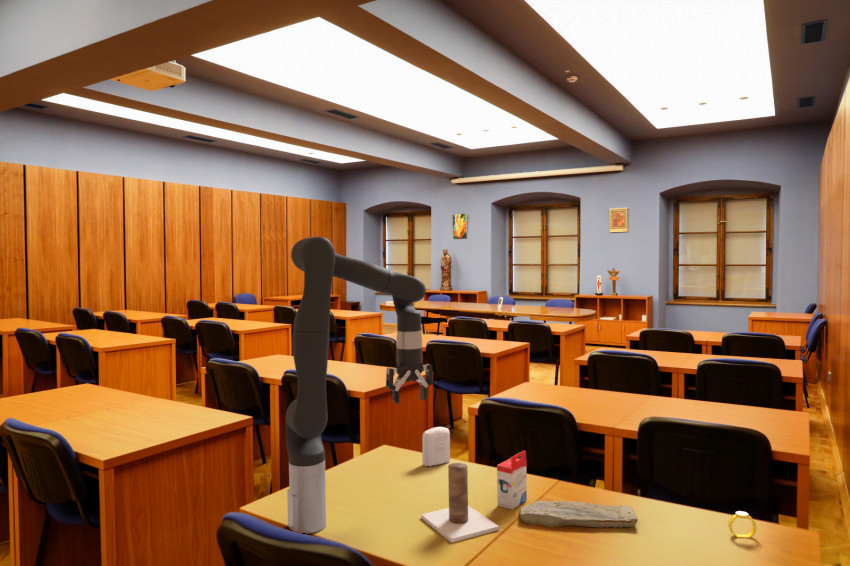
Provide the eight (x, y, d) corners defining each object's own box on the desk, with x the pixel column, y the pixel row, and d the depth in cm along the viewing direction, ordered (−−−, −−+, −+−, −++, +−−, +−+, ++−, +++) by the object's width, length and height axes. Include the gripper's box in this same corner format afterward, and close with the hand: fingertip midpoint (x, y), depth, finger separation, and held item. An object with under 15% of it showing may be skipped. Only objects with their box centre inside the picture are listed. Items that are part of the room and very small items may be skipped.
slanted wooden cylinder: (454, 524, 146) (453, 469, 146) (445, 518, 151) (444, 464, 151) (471, 521, 148) (470, 467, 149) (462, 514, 153) (461, 461, 153)
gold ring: (732, 540, 140) (730, 515, 140) (727, 534, 142) (726, 511, 142) (758, 539, 139) (756, 515, 139) (753, 534, 141) (751, 510, 141)
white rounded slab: (444, 458, 201) (444, 423, 201) (452, 462, 198) (451, 426, 197) (420, 464, 195) (420, 428, 195) (427, 468, 192) (427, 431, 192)
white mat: (451, 542, 139) (451, 538, 139) (421, 518, 153) (421, 514, 153) (498, 530, 146) (498, 526, 146) (465, 507, 160) (465, 503, 160)
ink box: (512, 496, 167) (512, 446, 167) (527, 500, 164) (527, 449, 164) (496, 506, 161) (496, 454, 160) (512, 510, 157) (511, 457, 157)
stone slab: (518, 497, 160) (630, 497, 156) (519, 512, 160) (630, 512, 156) (520, 515, 148) (641, 516, 144) (521, 531, 148) (642, 532, 144)
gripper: (392, 349, 160) (393, 407, 160) (437, 345, 167) (437, 401, 167) (381, 346, 167) (382, 402, 167) (425, 343, 173) (425, 396, 174)
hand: (410, 401), depth 167 cm, fingers open, 8 cm apart
